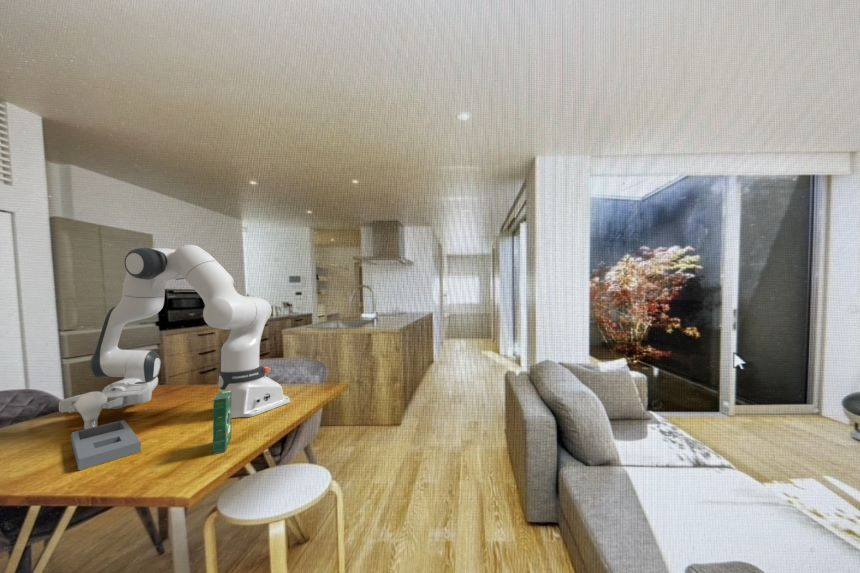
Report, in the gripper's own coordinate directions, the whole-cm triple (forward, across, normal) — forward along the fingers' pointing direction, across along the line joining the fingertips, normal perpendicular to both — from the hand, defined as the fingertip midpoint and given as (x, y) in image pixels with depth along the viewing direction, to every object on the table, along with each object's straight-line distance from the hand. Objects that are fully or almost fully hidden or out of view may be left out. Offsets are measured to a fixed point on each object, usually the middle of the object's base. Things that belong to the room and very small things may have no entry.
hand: (88, 407), depth 87 cm
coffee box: (+27, +42, +7) cm, 50 cm away
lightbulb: (-1, 0, +7) cm, 7 cm away
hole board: (+15, +12, +7) cm, 20 cm away
